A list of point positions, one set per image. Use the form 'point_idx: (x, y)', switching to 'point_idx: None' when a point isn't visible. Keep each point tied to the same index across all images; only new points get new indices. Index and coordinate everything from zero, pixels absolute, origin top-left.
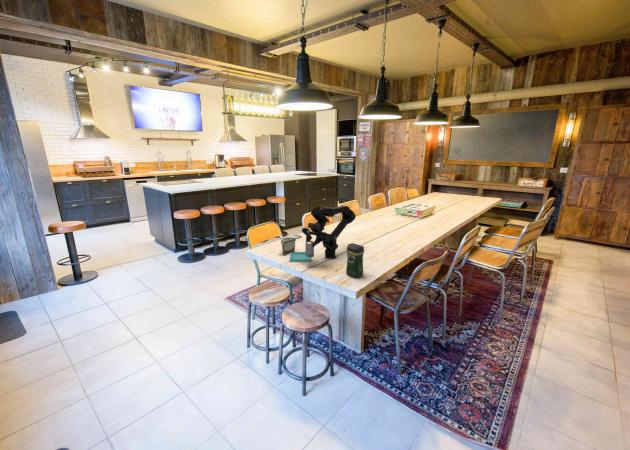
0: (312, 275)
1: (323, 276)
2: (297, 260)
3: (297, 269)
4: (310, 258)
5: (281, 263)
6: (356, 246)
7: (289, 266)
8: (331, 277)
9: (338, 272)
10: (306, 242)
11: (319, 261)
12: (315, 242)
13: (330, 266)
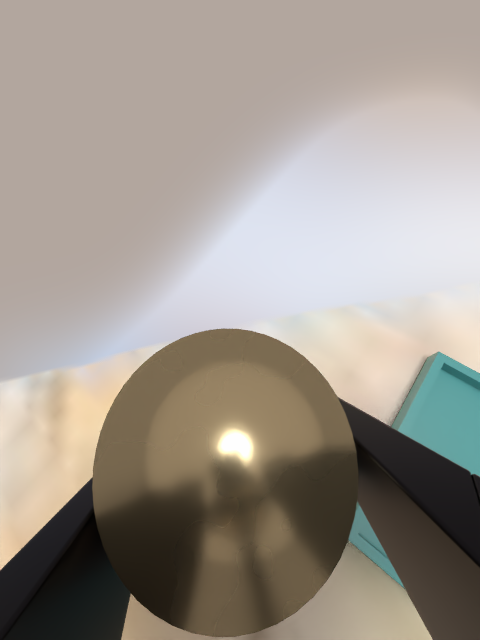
0: (127, 355)
1: (64, 403)
2: (404, 410)
3: (262, 330)
4: (377, 553)
5: (422, 296)
6: None
7: (339, 314)
8: (13, 438)
9: (5, 559)
10: (235, 345)
11: (299, 620)
12: (23, 560)
13: (129, 612)
